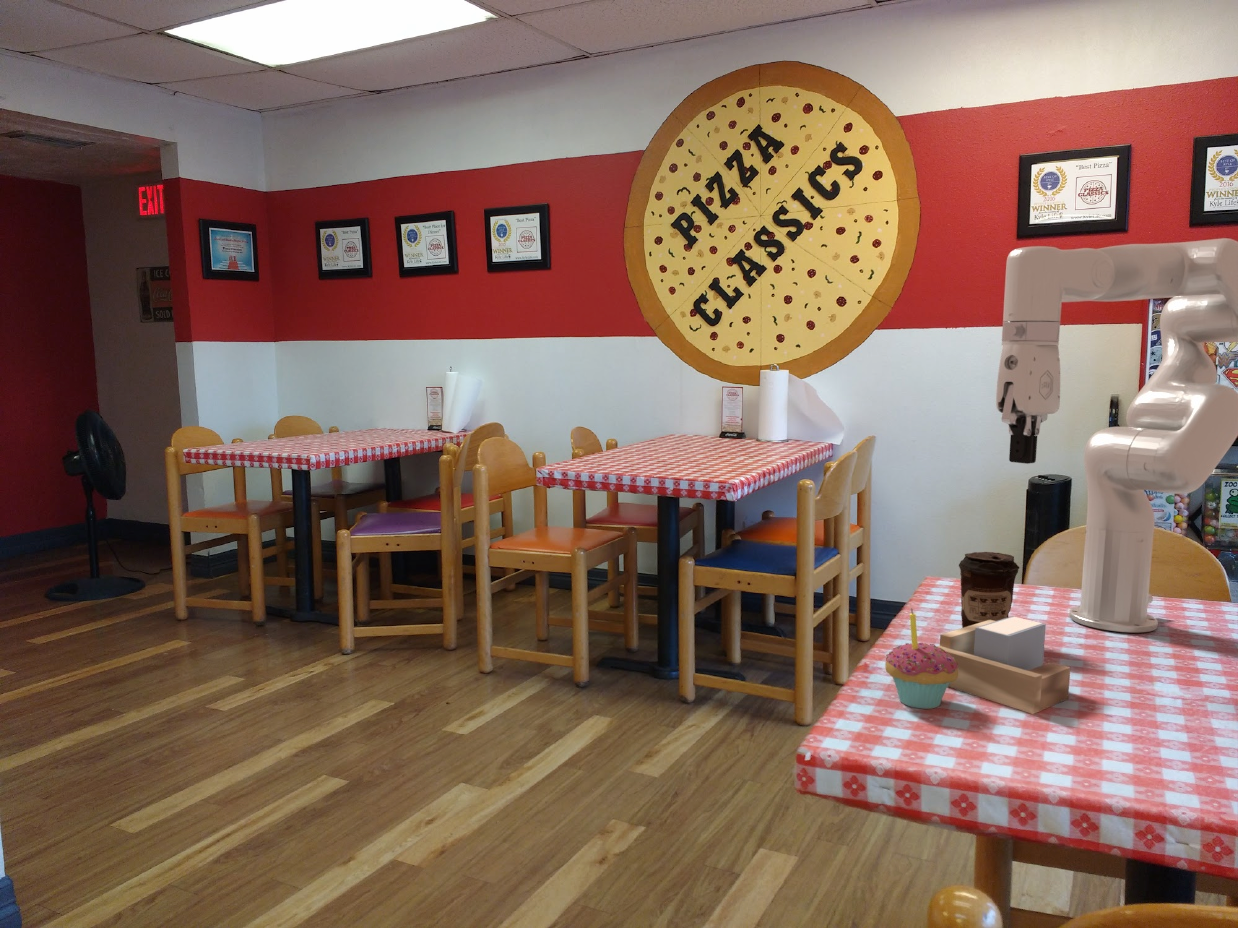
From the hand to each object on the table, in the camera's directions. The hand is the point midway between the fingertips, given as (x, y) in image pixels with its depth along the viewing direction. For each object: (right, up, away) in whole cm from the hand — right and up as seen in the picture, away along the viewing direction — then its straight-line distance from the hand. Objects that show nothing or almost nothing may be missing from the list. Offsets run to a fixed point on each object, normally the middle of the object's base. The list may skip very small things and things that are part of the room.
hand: (1022, 462), depth 134 cm
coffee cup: (-4, -27, +4) cm, 28 cm away
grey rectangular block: (-9, -29, -15) cm, 34 cm away
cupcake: (-22, -30, -21) cm, 42 cm away
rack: (-8, -29, -15) cm, 33 cm away
